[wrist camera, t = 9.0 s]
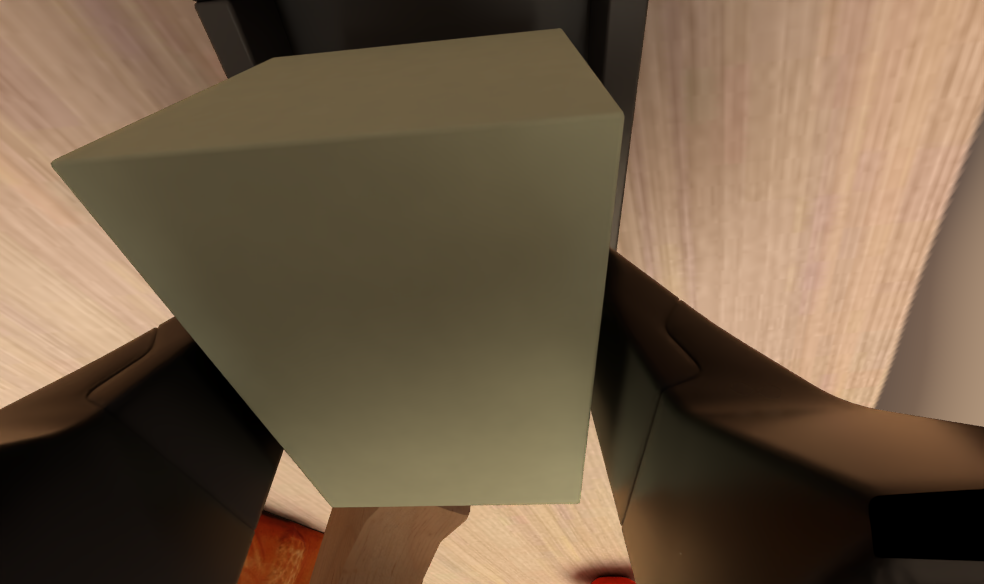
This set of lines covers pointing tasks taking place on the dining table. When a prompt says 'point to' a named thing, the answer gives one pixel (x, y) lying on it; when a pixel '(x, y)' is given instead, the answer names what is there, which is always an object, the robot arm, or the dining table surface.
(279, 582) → the ceramic vessel
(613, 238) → the mount
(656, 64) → the dining table surface
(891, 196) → the dining table surface
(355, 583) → the wooden block
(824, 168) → the dining table surface
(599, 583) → the apple
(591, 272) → the olive green block
